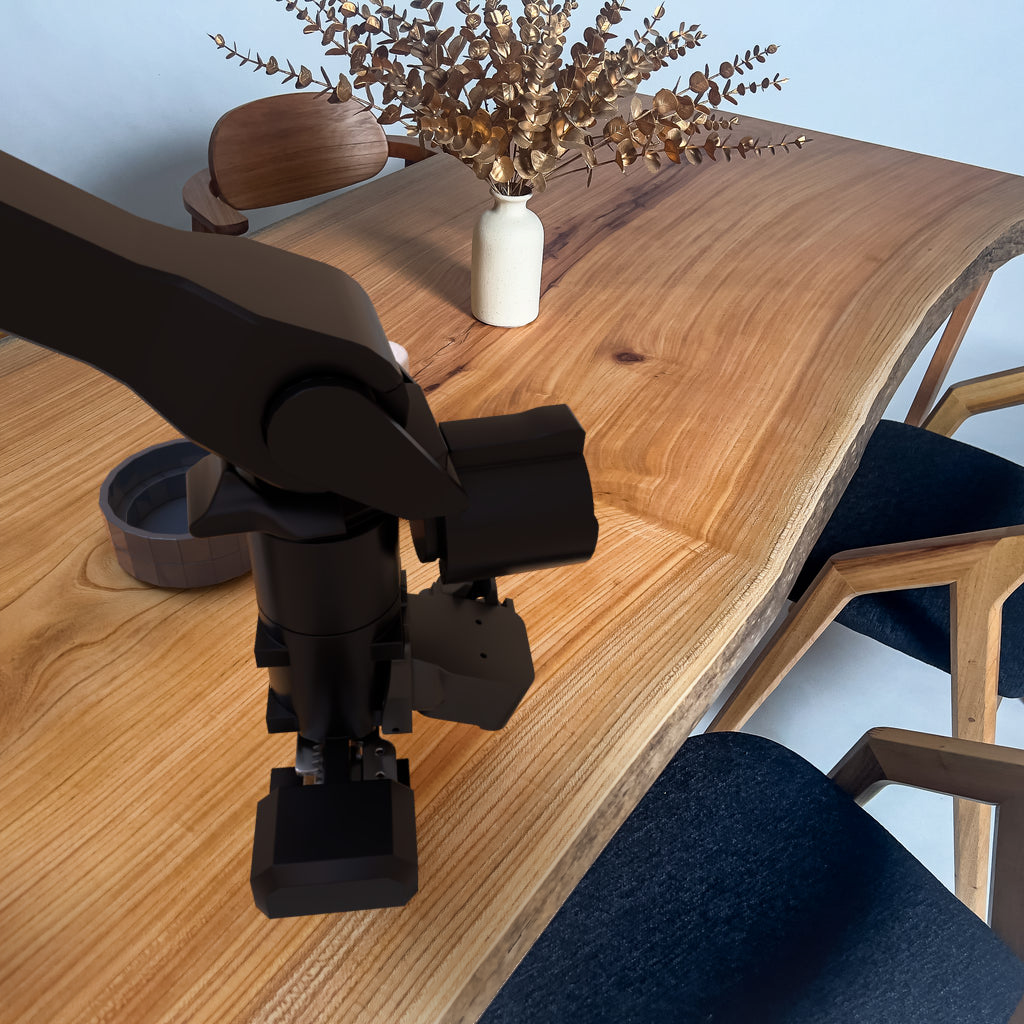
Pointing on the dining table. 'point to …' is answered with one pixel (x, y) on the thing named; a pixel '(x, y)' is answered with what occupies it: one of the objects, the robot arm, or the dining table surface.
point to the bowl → (164, 521)
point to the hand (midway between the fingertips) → (349, 808)
